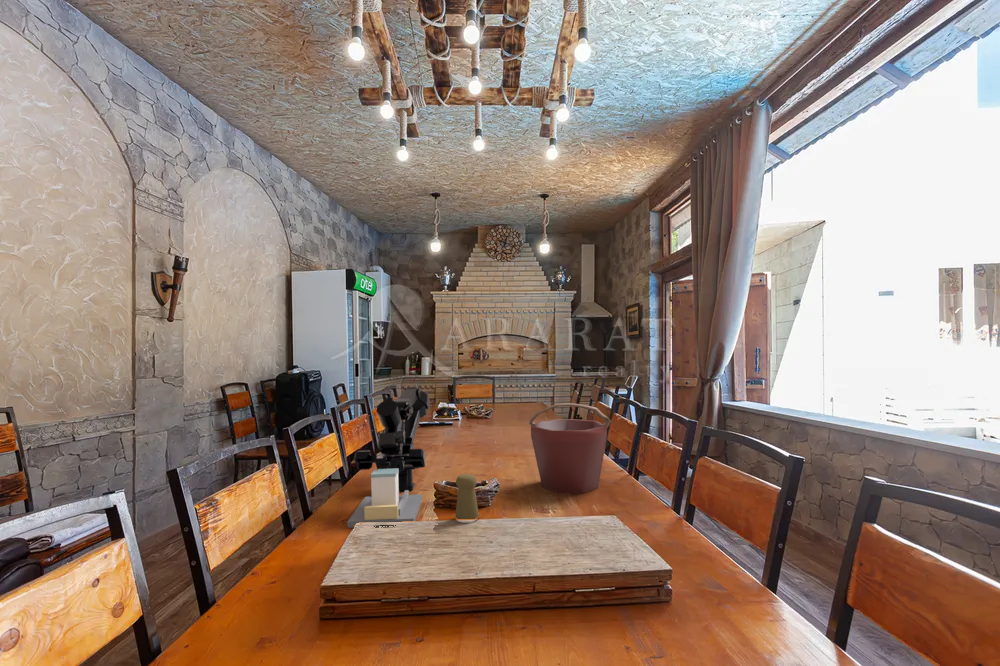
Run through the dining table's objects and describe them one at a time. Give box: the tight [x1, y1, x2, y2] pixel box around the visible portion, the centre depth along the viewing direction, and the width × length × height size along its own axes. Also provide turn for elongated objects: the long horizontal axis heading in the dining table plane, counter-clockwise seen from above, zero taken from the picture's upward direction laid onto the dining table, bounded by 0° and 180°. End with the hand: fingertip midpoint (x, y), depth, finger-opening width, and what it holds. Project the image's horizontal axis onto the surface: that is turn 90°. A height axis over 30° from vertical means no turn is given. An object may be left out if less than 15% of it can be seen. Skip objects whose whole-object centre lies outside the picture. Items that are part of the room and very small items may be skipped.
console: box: [347, 490, 423, 529], centre depth 128 cm, size 20×16×4 cm
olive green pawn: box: [454, 473, 480, 519], centre depth 122 cm, size 6×6×11 cm
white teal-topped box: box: [370, 468, 400, 506], centre depth 125 cm, size 5×6×10 cm
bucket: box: [529, 403, 612, 494], centre depth 148 cm, size 24×22×25 cm
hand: (386, 487), depth 127 cm, fingers closed, pressing on white teal-topped box
